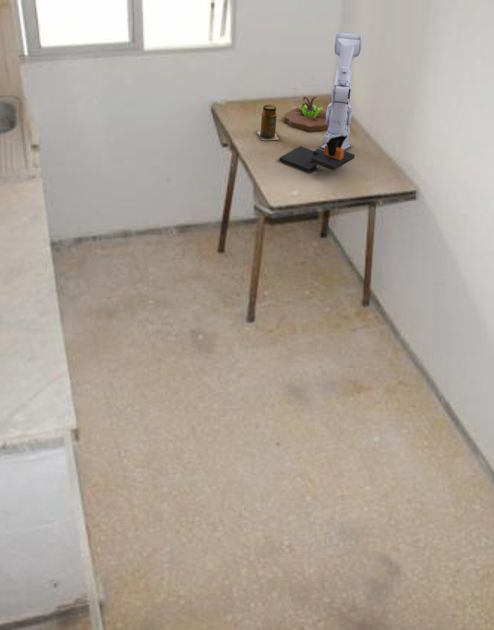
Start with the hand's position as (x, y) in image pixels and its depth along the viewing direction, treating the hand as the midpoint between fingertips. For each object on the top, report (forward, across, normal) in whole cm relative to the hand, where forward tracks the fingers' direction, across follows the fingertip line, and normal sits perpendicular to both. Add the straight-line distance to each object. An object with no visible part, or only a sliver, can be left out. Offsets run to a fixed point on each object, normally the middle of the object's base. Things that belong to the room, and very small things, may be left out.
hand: (333, 154), depth 267 cm
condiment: (+7, +8, +36) cm, 38 cm away
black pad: (+7, 0, +12) cm, 14 cm away
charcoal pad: (+2, 0, +1) cm, 3 cm away
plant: (+7, +32, +32) cm, 46 cm away
